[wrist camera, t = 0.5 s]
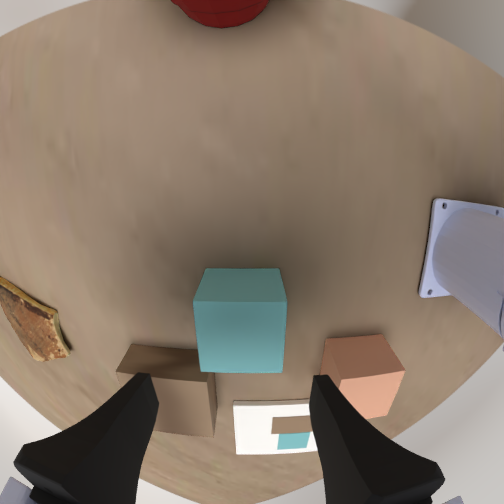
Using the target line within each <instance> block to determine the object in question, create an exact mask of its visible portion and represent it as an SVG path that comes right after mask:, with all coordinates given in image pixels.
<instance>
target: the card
mask: <svg viewBox="0 0 504 504" xmlns="http://www.w3.org/2000/svg"><path fill="white" fill-rule="evenodd" d="M309 401H310V399H303V400H284V401H233V410H234V425H235V439H236V453H237V454H282V453H297V452H309V451H318V449H317V446H316V442H315V438H314V434H313V430H312V426H311V420H310V412H309Z"/></svg>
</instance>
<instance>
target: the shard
mask: <svg viewBox="0 0 504 504" xmlns="http://www.w3.org/2000/svg"><path fill="white" fill-rule="evenodd" d="M0 304H1V306H2V308H3V311H4V313H5V315H6V317H7V318H8V320H9V322H10V323H11V325H12V327H13V329H14V330H15V332H16V334H17V335H18V337H19V339H20V340H21V342H22V343H23V345H24V346H25V347H26V348H27V350H28V351H29V353H30V354H31V356H32V357H33V358H34V359H36V360H38V361H43V362H45V361H49V360H53V359H57V358H66V357H68V355H70V350H69V348H68V347H67V345H66V344H65V343H64V341H63V337H62V334H61V330H60V326H59V319H58V312H57V311H56V310H54V309H51V308H47V307H46V306H43V305H40V304H39V303H37V302H36V301H34V300H33V299H32V298H30V297H29V296H27V295H26V294H25V293H24V292H22V291H21V290H19V289H18V288H16V287H15V286H14V285H13V284H11V283H10V282H8V281H7V280H6V279H4V278H2V277H0Z"/></svg>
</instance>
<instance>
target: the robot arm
mask: <svg viewBox="0 0 504 504" xmlns="http://www.w3.org/2000/svg"><path fill="white" fill-rule="evenodd" d="M443 203H444V207H443V208H442V205H443ZM429 290H430V291H429ZM428 291H429V292H428ZM419 295H420V296H421V297H422V298H428V297H439V296H449V295H453V296H454V297H455V298H456V299H458V300H459V301H460V302H461V303H463V304H464V305H465V306H466V307H467V308H469V309H470V310H471V311H472V312H473V313H475V314H476V315H477V316H478V317H479V318H480V319H482V320H483V321H484V322H485V323H486V324H487V325H489V326H490V327H491V328H492V329H493V330H494V331H495V332H497V333H498V334H499V335H500V336H501V337H502V338H503V339H504V208H502V207H497V206H491V205H485V204H478V203H471V202H464V201H457V200H450V199H442V198H436V199H435V200H434V201H433V206H432V215H431V224H430V231H429V238H428V245H427V251H426V257H425V263H424V268H423V273H422V278H421V283H420V287H419ZM503 351H504V347H503ZM158 408H159V401H158V398H157V395H156V392H155V388H154V385H153V382H152V379H151V375H150V373H141V372H138V373H136V374H135V375H134V376H133V377H132V378H131V379H130V380H129V381H128V382H127V383H126V384H125V385H124V386H123V387H122V388H121V389H120V390H119V391H118V392H116V393H115V394H114V395H113V396H112V397H111V398H110V399H109V400H108V401H107V402H105V403H104V404H103V405H102V406H101V407H99V408H98V409H97V410H96V411H94V412H93V413H92V414H90V415H89V416H88V417H86V418H85V419H83V420H81V421H80V422H78V423H77V424H75V425H73V426H71V427H69V428H67V429H66V430H64V431H62V432H60V433H57V434H55V435H53V436H50V437H48V438H45V439H42V440H39V441H36V442H31V443H28V444H24V445H23V447H22V448H21V450H20V452H19V453H18V455H17V457H16V459H15V461H14V466H15V467H16V469H17V470H18V471H19V472H20V473H21V474H22V475H23V476H24V477H25V478H26V479H27V480H28V481H29V482H31V483H32V484H33V485H34V487H33V489H32V490H31V489H30V488H29V487H27V486H26V485H24V484H22V483H21V482H19V481H18V480H16V479H14V478H13V477H10V478H9V480H8V482H7V484H6V486H5V487H4V489H3V491H2V493H1V496H0V504H135V502H136V493H137V486H138V479H139V474H140V469H141V464H142V461H143V457H144V454H145V452H146V449H147V446H148V443H149V440H150V437H151V434H152V431H153V428H154V425H155V422H156V418H157V413H158ZM309 412H310V420H311V426H312V430H313V434H314V438H315V442H316V446H317V449H318V453H319V457H320V461H321V465H322V470H323V478H324V485H325V494H326V504H432V499H431V495H432V494H434V493H435V492H436V491H437V490H438V489H439V488H440V487H441V485H443V483H444V481H445V478H444V476H443V473H442V471H441V469H440V467H439V466H438V464H437V463H436V462H434V461H431V460H429V459H426V458H424V457H421V456H419V455H417V454H415V453H412V452H410V451H409V450H407V449H405V448H403V447H402V446H400V445H398V444H397V443H395V442H394V441H392V440H390V439H389V438H388V437H386V436H385V435H384V434H382V433H381V432H380V431H378V430H377V429H376V428H375V427H374V426H372V425H371V424H370V423H369V422H368V421H367V420H366V419H365V418H364V417H363V416H362V415H361V414H360V413H359V412H358V411H357V410H356V409H355V408H354V407H353V406H352V404H351V403H350V402H349V401H348V400H347V399H346V398H345V396H344V395H343V394H342V393H341V391H340V390H339V389H338V387H337V386H336V385H335V383H334V382H333V381H332V379H331V378H330V376H329V375H327V374H325V375H314V376H313V383H312V389H311V395H310V401H309ZM443 504H464V503H463V501H462V499H461V497H460V496H457V497H455V498H453V499H451V500H449V501H447V502H445V503H443Z"/></svg>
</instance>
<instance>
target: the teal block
mask: <svg viewBox="0 0 504 504" xmlns="http://www.w3.org/2000/svg"><path fill="white" fill-rule="evenodd" d="M193 309H194V319H195V328H196V337H197V345H198V353H199V361H200V369H201V372H222V373H282V369H283V357H284V344H285V330H286V316H287V298H286V294H285V290H284V286H283V282H282V278H281V274H280V270H279V268H206V270H205V272H204V274H203V277H202V279H201V282H200V284H199V287H198V289H197V292H196V294H195V297H194V299H193Z"/></svg>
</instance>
